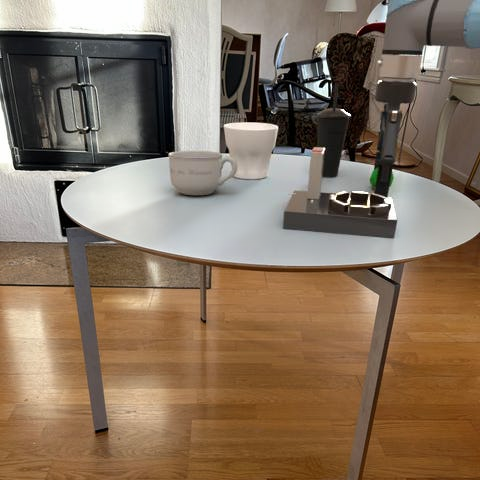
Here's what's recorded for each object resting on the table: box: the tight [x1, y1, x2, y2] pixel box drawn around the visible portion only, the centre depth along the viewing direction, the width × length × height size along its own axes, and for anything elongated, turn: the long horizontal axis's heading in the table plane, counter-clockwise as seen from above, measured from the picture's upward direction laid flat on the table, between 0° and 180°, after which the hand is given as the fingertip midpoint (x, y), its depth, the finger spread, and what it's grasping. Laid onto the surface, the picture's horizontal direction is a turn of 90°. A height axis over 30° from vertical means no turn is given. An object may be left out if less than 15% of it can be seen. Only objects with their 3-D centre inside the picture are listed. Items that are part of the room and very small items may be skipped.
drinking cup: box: [316, 82, 352, 178], centre depth 111 cm, size 8×8×20 cm
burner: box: [329, 190, 391, 217], centre depth 81 cm, size 10×10×2 cm
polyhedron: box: [369, 168, 395, 189], centre depth 104 cm, size 5×5×5 cm
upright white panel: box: [307, 146, 325, 199], centre depth 85 cm, size 5×2×8 cm, turn 167°
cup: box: [223, 121, 279, 180], centre depth 111 cm, size 12×12×11 cm
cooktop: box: [282, 190, 398, 239], centre depth 85 cm, size 19×16×3 cm
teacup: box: [167, 150, 238, 196], centre depth 97 cm, size 14×11×8 cm
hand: (379, 189), depth 105 cm, fingers open, 13 cm apart
